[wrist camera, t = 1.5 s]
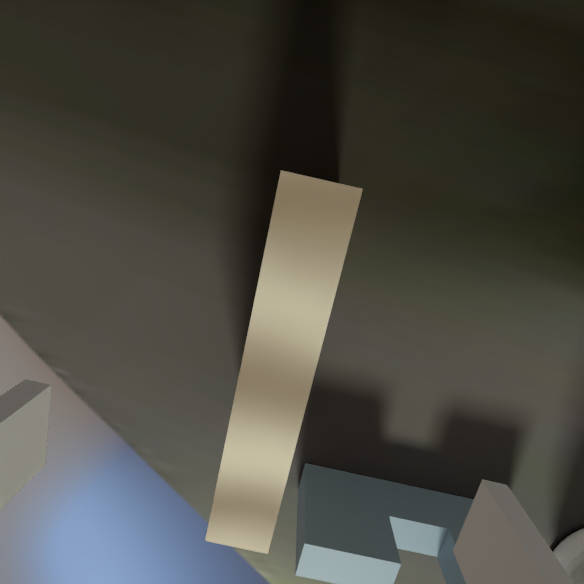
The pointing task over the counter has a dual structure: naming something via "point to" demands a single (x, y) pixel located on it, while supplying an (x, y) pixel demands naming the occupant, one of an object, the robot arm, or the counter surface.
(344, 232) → the birch plate
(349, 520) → the blue board
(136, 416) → the counter surface
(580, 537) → the jar
